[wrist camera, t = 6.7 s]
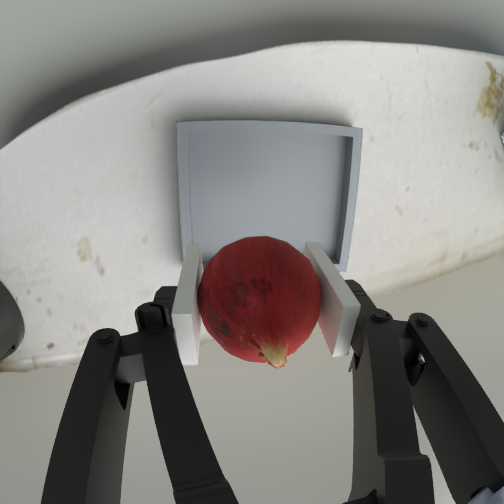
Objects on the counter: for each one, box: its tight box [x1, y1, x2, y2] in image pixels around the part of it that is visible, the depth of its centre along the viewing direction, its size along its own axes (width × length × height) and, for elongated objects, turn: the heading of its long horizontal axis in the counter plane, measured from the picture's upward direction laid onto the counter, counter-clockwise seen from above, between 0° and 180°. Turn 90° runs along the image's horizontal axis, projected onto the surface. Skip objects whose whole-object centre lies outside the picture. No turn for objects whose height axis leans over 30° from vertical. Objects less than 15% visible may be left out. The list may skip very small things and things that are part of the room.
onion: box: [198, 236, 321, 368], centre depth 14 cm, size 6×6×8 cm
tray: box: [176, 120, 363, 272], centre depth 31 cm, size 18×16×2 cm
